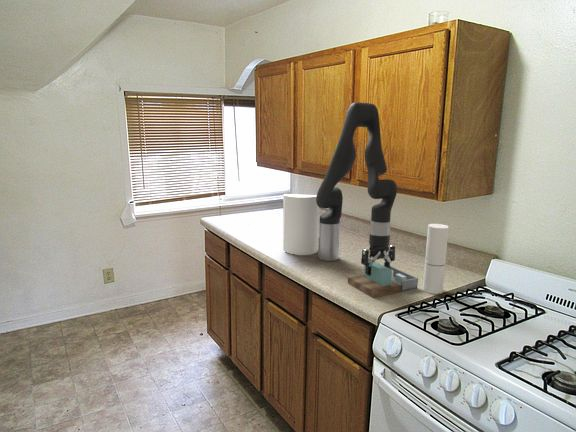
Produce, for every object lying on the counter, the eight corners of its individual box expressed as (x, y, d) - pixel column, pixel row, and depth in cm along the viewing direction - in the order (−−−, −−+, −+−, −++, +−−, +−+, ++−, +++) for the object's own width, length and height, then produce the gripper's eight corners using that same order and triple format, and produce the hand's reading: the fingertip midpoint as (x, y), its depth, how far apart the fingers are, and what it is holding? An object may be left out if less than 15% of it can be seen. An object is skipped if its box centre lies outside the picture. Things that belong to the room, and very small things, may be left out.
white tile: (383, 268, 167) (386, 267, 168) (382, 277, 168) (386, 277, 169) (389, 271, 163) (393, 270, 164) (388, 281, 164) (392, 280, 165)
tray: (374, 277, 169) (375, 268, 168) (389, 274, 173) (390, 265, 172) (401, 291, 155) (402, 281, 154) (417, 288, 159) (418, 278, 158)
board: (347, 282, 163) (347, 276, 163) (374, 277, 169) (374, 272, 168) (373, 297, 149) (373, 291, 149) (400, 291, 155) (401, 285, 154)
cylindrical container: (438, 286, 160) (444, 223, 155) (445, 293, 153) (452, 228, 148) (420, 286, 160) (425, 223, 155) (426, 293, 153) (432, 228, 148)
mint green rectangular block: (363, 276, 164) (364, 261, 163) (370, 274, 165) (371, 260, 164) (383, 286, 153) (384, 270, 152) (390, 284, 155) (391, 269, 154)
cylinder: (315, 256, 197) (316, 198, 191) (279, 253, 200) (280, 196, 194) (319, 246, 213) (321, 192, 207) (287, 244, 216) (287, 191, 211)
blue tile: (395, 274, 161) (399, 273, 161) (394, 283, 161) (398, 283, 162) (402, 277, 157) (406, 276, 158) (401, 287, 158) (405, 286, 159)
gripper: (388, 228, 162) (385, 268, 165) (358, 232, 155) (356, 273, 159) (401, 232, 155) (398, 273, 159) (370, 237, 149) (368, 279, 152)
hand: (377, 273), depth 159 cm, fingers open, 8 cm apart
